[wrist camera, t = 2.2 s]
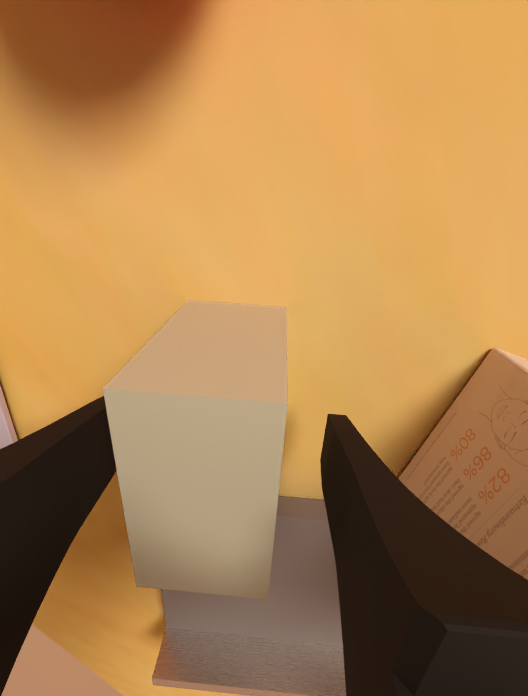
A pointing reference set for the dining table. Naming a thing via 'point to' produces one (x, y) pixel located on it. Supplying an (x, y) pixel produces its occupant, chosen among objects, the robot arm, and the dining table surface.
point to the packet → (203, 448)
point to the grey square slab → (264, 622)
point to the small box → (482, 461)
